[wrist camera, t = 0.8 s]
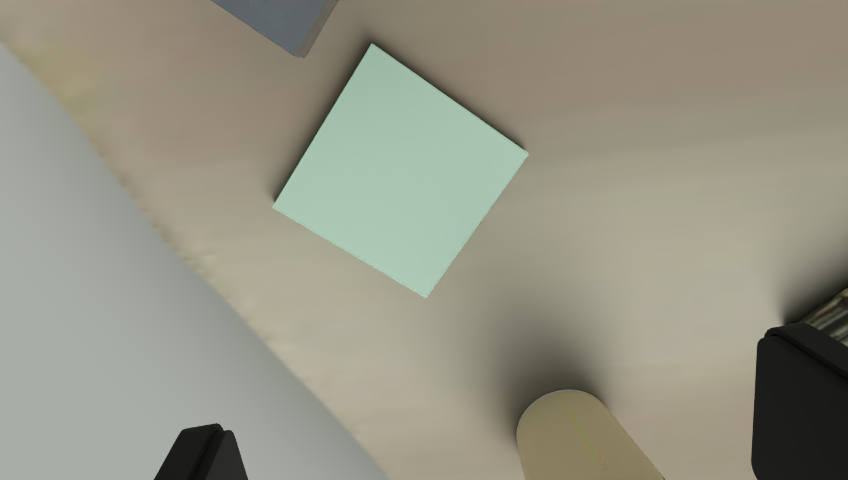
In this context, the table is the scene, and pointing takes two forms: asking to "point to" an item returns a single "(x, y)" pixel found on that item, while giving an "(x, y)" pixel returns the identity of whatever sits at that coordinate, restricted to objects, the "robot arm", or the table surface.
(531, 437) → the coffee cup
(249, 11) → the hole block
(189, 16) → the table surface
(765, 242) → the table surface
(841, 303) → the network switch
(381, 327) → the table surface
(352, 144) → the green pad
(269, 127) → the table surface
